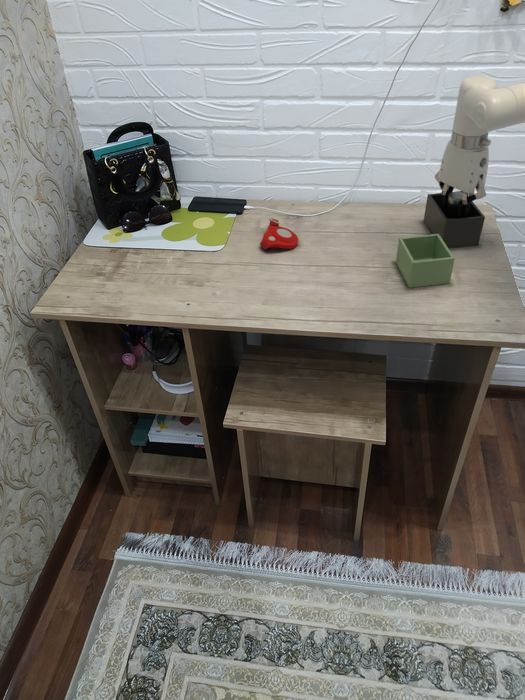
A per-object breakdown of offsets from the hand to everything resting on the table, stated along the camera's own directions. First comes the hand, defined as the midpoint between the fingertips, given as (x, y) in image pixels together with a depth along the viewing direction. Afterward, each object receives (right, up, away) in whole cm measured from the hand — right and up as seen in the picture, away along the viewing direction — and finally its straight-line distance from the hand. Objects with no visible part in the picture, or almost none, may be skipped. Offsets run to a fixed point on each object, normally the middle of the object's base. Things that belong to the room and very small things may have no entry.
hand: (454, 212), depth 137 cm
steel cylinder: (0, 0, 0) cm, 1 cm away
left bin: (-10, -16, -8) cm, 20 cm away
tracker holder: (-42, -6, +6) cm, 43 cm away
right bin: (0, -4, +4) cm, 6 cm away
